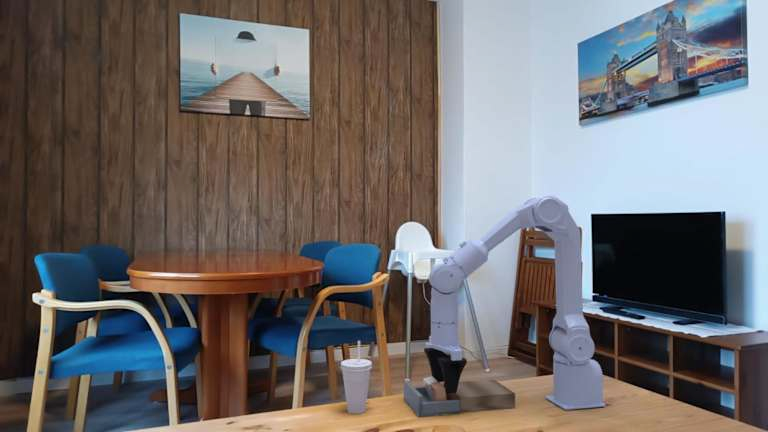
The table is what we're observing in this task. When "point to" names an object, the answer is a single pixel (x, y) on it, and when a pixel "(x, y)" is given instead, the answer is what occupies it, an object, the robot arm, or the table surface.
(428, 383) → the tile cream
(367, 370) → the smoothie
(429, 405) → the tray
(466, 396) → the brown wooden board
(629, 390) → the table surface
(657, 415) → the table surface
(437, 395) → the tile terracotta
